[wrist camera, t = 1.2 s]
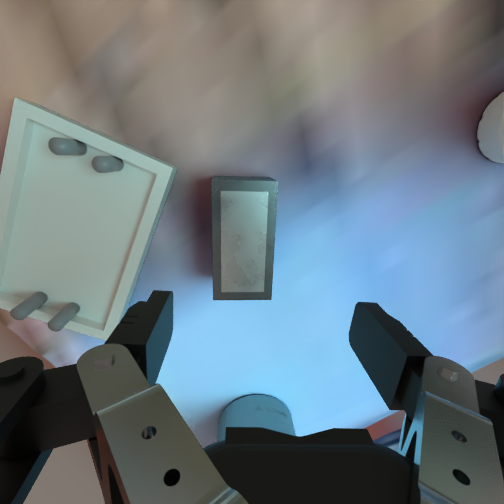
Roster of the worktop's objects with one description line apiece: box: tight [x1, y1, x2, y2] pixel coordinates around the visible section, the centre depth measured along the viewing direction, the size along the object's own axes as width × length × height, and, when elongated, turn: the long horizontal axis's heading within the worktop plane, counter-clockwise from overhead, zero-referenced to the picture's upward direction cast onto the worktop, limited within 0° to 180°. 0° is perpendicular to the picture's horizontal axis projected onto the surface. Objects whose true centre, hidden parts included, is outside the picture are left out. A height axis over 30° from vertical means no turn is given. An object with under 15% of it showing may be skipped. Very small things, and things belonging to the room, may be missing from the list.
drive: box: [211, 176, 278, 300], centre depth 25 cm, size 10×5×5 cm, turn 178°
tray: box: [0, 98, 178, 341], centre depth 24 cm, size 18×12×4 cm, turn 156°
